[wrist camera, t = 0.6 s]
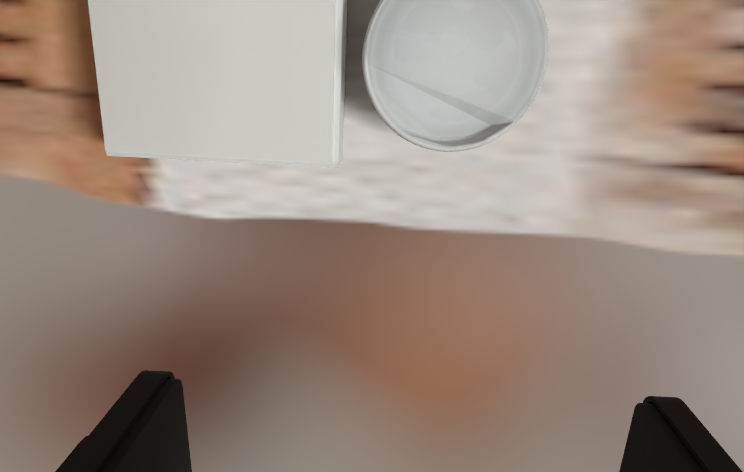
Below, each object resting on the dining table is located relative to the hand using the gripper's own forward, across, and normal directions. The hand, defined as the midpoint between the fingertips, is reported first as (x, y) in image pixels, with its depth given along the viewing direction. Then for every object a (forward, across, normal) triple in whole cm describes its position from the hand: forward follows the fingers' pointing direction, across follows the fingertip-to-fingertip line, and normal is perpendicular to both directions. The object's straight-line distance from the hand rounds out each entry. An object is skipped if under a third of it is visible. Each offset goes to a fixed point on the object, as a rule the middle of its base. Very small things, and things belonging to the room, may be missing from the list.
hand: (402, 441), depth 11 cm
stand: (+29, +12, -8) cm, 32 cm away
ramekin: (+29, -3, -8) cm, 30 cm away
